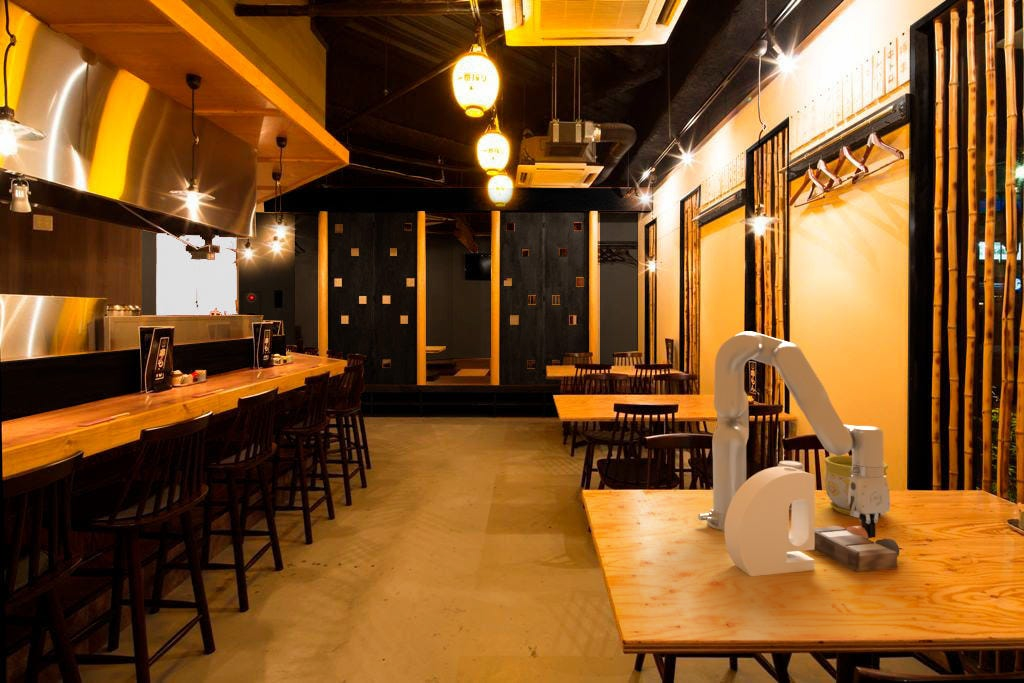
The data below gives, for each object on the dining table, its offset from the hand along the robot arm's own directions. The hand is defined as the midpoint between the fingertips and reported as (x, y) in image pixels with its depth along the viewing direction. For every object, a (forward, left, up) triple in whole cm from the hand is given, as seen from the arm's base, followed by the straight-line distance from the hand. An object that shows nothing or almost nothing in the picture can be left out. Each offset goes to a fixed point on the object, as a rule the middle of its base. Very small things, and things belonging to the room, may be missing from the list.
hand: (868, 535), depth 164 cm
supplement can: (+1, +34, -3) cm, 34 cm away
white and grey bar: (-8, -10, -2) cm, 13 cm away
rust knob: (-9, 0, -2) cm, 9 cm away
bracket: (-37, -8, -3) cm, 38 cm away
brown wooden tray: (-11, -5, -3) cm, 12 cm away
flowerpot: (+19, +26, -3) cm, 32 cm away
